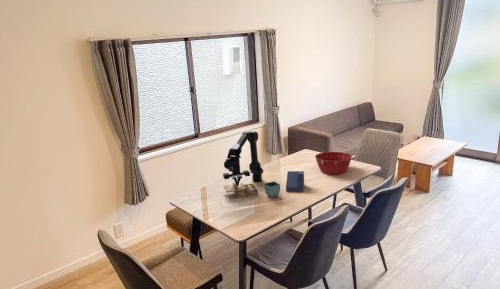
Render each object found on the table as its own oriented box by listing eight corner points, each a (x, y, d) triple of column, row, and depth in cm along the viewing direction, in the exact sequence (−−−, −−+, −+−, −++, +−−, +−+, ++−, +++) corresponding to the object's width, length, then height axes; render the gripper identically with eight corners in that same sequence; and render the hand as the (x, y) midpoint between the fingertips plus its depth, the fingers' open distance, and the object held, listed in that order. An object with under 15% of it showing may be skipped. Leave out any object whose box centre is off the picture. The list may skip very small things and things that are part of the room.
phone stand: (286, 192, 260) (285, 176, 257) (288, 186, 271) (287, 171, 269) (303, 192, 257) (302, 176, 255) (304, 186, 269) (303, 171, 266)
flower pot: (270, 199, 248) (269, 187, 246) (263, 195, 256) (263, 183, 254) (281, 196, 252) (280, 184, 250) (274, 193, 260) (274, 181, 258)
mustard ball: (251, 189, 268) (251, 184, 267) (253, 191, 265) (252, 185, 264) (246, 190, 267) (246, 184, 267) (247, 191, 264) (247, 186, 263)
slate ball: (253, 191, 263) (253, 186, 262) (255, 193, 259) (254, 188, 259) (248, 192, 262) (248, 187, 261) (249, 194, 259) (249, 189, 258)
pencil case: (253, 189, 271) (252, 183, 270) (257, 194, 258) (257, 189, 257) (233, 191, 267) (232, 186, 266) (237, 198, 255) (236, 192, 254)
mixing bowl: (327, 167, 312) (327, 149, 309) (358, 172, 292) (358, 154, 289) (308, 175, 293) (308, 157, 289) (340, 182, 273) (339, 162, 269)
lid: (243, 184, 268) (242, 180, 267) (247, 189, 256) (246, 186, 255) (223, 186, 264) (223, 183, 264) (226, 192, 252) (226, 188, 252)
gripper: (245, 160, 266) (247, 181, 270) (220, 163, 262) (222, 184, 265) (249, 164, 256) (250, 185, 259) (223, 168, 251) (225, 189, 255)
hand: (237, 186), depth 260 cm, fingers closed
